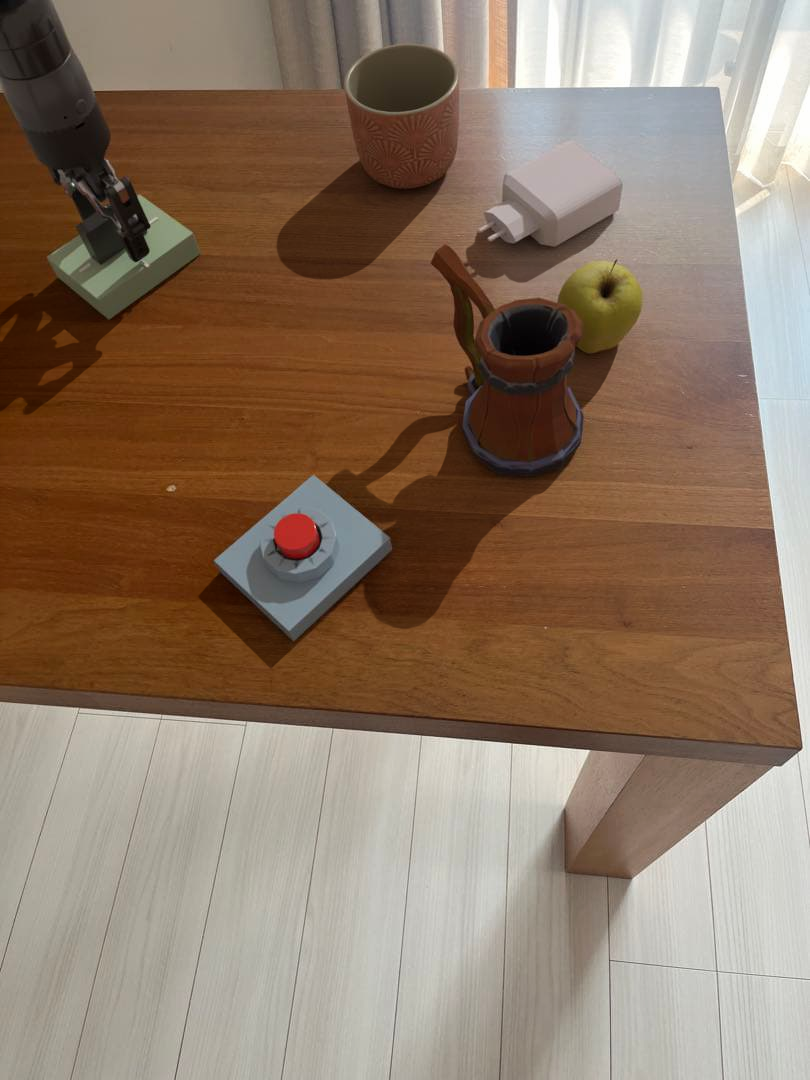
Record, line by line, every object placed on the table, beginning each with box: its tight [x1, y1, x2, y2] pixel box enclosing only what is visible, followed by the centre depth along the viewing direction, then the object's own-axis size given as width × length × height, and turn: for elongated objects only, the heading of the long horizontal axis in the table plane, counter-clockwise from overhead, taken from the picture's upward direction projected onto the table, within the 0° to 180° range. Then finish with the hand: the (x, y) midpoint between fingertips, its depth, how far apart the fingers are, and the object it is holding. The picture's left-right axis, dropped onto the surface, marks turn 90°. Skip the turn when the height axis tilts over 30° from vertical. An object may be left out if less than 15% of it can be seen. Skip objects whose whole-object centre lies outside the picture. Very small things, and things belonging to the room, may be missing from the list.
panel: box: [46, 194, 201, 320], centre depth 98 cm, size 13×11×3 cm
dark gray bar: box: [75, 202, 147, 264], centre depth 95 cm, size 6×2×4 cm, turn 136°
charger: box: [477, 139, 623, 248], centre depth 96 cm, size 5×9×15 cm
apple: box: [556, 258, 644, 354], centre depth 85 cm, size 8×8×10 cm
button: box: [274, 513, 319, 559], centre depth 75 cm, size 4×4×2 cm
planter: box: [343, 43, 460, 190], centre depth 99 cm, size 12×12×11 cm
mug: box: [430, 244, 585, 478], centre depth 79 cm, size 18×12×15 cm, turn 35°
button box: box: [213, 474, 393, 642], centre depth 77 cm, size 12×10×4 cm
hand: (117, 238), depth 96 cm, fingers open, 8 cm apart
